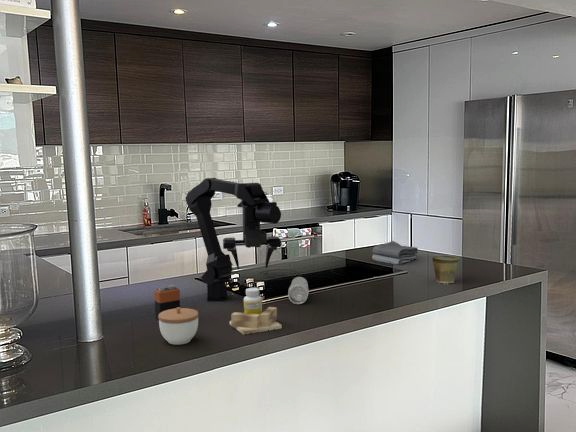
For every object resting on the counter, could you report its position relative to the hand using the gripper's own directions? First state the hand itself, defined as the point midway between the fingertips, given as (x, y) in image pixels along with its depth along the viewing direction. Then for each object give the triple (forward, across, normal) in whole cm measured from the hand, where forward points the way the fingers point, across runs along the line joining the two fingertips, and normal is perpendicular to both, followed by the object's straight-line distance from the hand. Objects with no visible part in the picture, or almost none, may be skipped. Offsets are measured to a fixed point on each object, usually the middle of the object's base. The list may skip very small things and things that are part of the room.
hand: (252, 268), depth 183 cm
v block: (+13, 0, -20) cm, 24 cm away
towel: (+14, +71, +67) cm, 98 cm away
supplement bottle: (+12, -1, -19) cm, 22 cm away
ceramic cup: (+13, +77, +24) cm, 82 cm away
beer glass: (+10, +18, +15) cm, 25 cm away
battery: (+13, -27, -8) cm, 31 cm away
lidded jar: (+13, -22, -30) cm, 39 cm away
